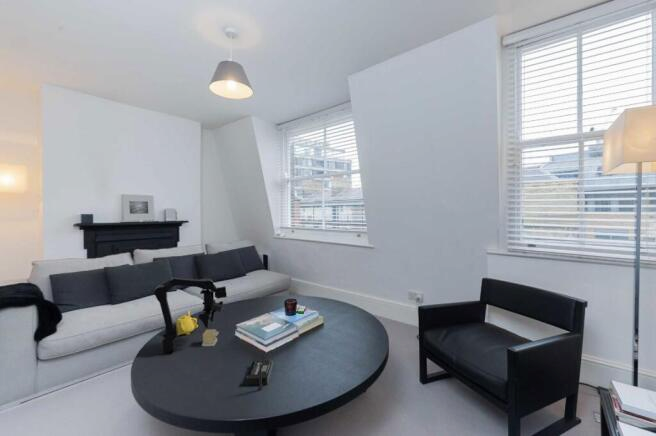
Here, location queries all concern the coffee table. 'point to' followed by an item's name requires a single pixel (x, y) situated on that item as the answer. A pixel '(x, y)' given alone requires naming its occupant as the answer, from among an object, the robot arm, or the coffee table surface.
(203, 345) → the hammer
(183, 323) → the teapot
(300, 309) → the puzzle cube
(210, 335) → the brushed brass cube
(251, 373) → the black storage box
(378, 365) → the coffee table surface
